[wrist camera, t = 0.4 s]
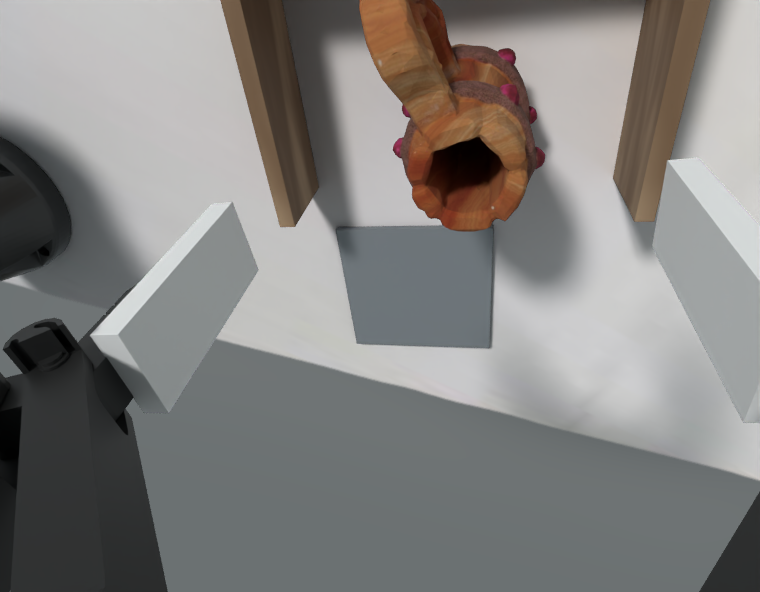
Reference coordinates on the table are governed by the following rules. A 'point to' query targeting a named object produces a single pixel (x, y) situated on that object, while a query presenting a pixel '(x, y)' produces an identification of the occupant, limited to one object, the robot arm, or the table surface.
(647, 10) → the wooden boards
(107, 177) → the table surface
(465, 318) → the rubber mat
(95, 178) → the table surface
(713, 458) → the table surface
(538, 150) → the mug
